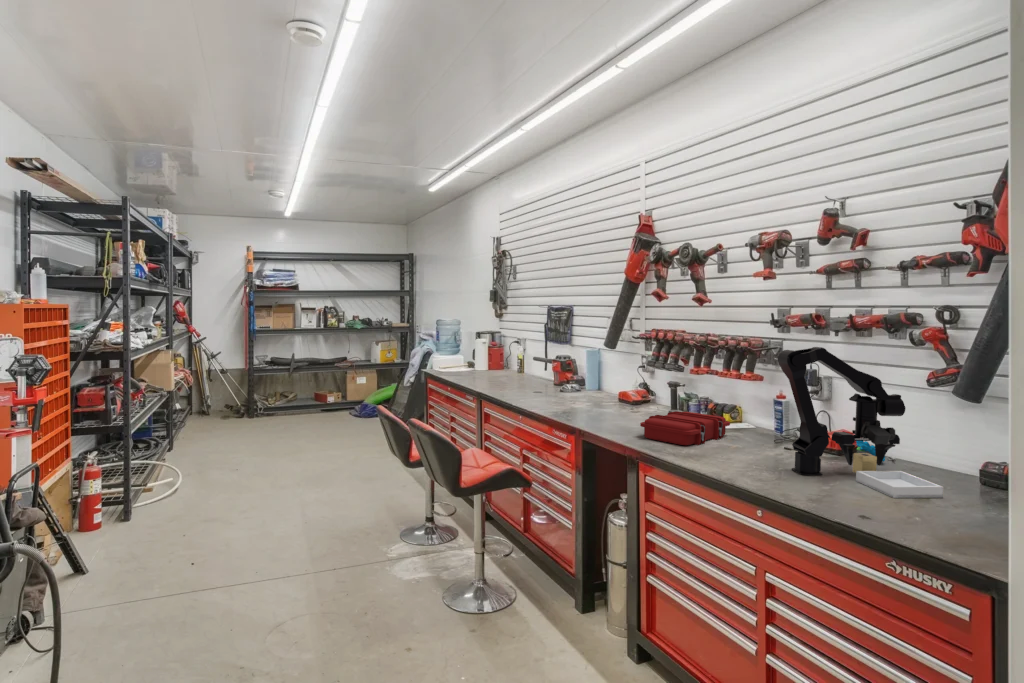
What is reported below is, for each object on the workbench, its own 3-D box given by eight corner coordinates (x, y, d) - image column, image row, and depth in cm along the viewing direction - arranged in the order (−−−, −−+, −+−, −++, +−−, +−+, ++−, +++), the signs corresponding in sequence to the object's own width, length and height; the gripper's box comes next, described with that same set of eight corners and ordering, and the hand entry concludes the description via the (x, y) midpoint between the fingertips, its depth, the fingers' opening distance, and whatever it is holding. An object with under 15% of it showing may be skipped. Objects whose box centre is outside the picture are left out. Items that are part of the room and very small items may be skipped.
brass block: (861, 475, 180) (862, 456, 180) (852, 471, 185) (853, 452, 184) (875, 475, 180) (876, 456, 180) (866, 471, 185) (867, 452, 184)
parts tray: (893, 497, 158) (893, 487, 158) (855, 480, 174) (856, 471, 174) (942, 497, 159) (943, 486, 159) (900, 480, 175) (901, 470, 175)
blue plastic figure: (893, 460, 192) (870, 439, 193) (881, 473, 192) (859, 451, 192) (871, 457, 203) (851, 436, 204) (860, 469, 203) (839, 448, 203)
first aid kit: (690, 449, 214) (690, 426, 214) (637, 438, 231) (638, 417, 231) (731, 437, 236) (732, 416, 235) (680, 428, 253) (681, 408, 253)
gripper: (853, 420, 173) (851, 472, 174) (914, 420, 174) (911, 472, 175) (831, 414, 184) (829, 462, 185) (888, 414, 185) (886, 462, 186)
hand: (864, 465), depth 182 cm, fingers open, 9 cm apart
